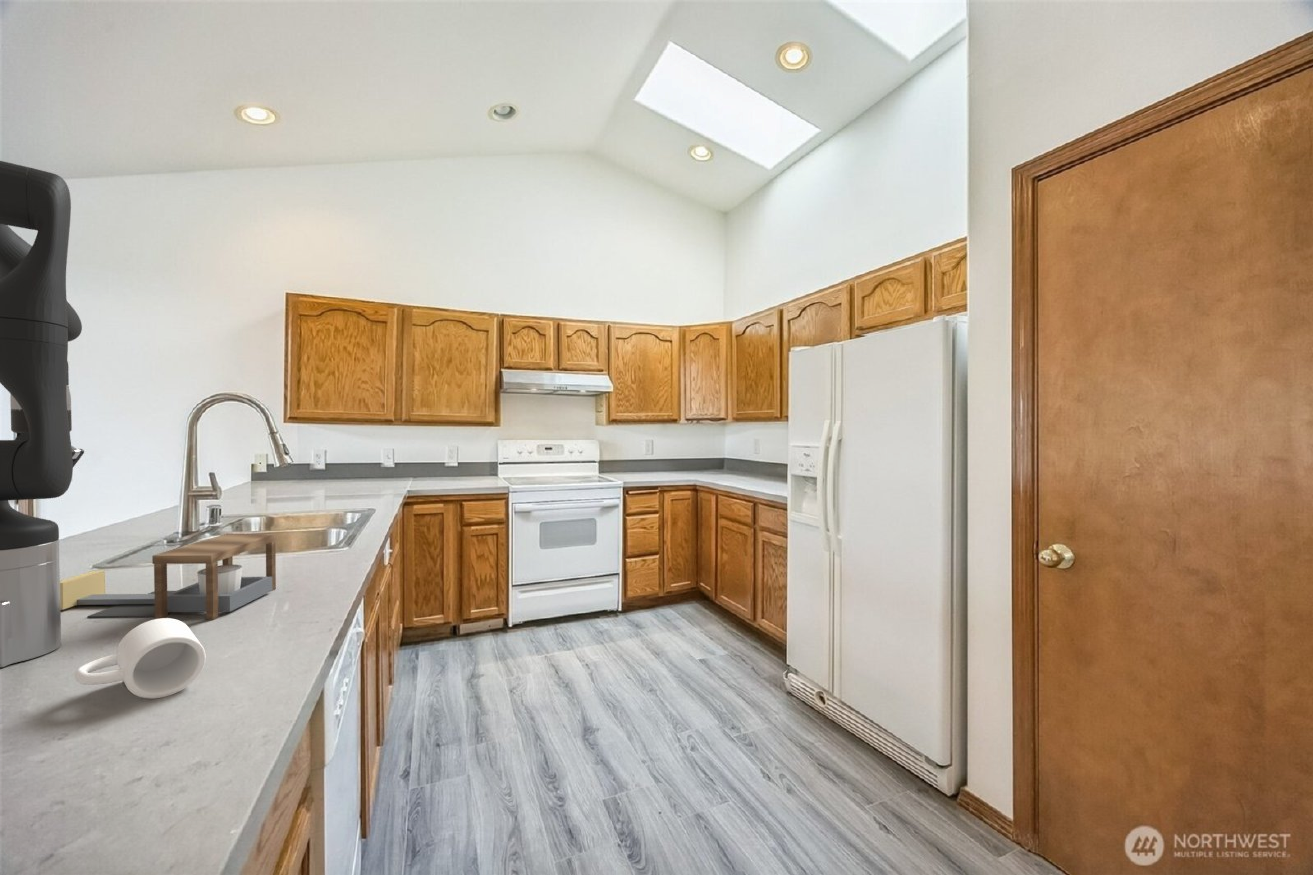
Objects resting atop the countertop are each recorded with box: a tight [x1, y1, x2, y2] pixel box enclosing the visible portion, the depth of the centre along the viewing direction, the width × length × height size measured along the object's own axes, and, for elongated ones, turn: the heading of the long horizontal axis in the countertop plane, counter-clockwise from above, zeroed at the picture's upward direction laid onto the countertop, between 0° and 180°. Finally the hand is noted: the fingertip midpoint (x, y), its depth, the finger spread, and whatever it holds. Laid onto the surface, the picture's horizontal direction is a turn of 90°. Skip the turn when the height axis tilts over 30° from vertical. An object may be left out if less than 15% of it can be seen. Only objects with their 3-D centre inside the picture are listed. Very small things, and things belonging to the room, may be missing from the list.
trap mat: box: [86, 590, 176, 619], centre depth 102 cm, size 14×12×1 cm
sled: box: [60, 570, 273, 613], centre depth 102 cm, size 12×33×5 cm, turn 94°
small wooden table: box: [151, 533, 277, 621], centre depth 103 cm, size 18×10×12 cm, turn 4°
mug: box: [74, 617, 207, 700], centre depth 71 cm, size 12×10×8 cm
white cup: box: [197, 564, 243, 594], centre depth 103 cm, size 7×7×7 cm
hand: (43, 497), depth 100 cm, fingers closed
